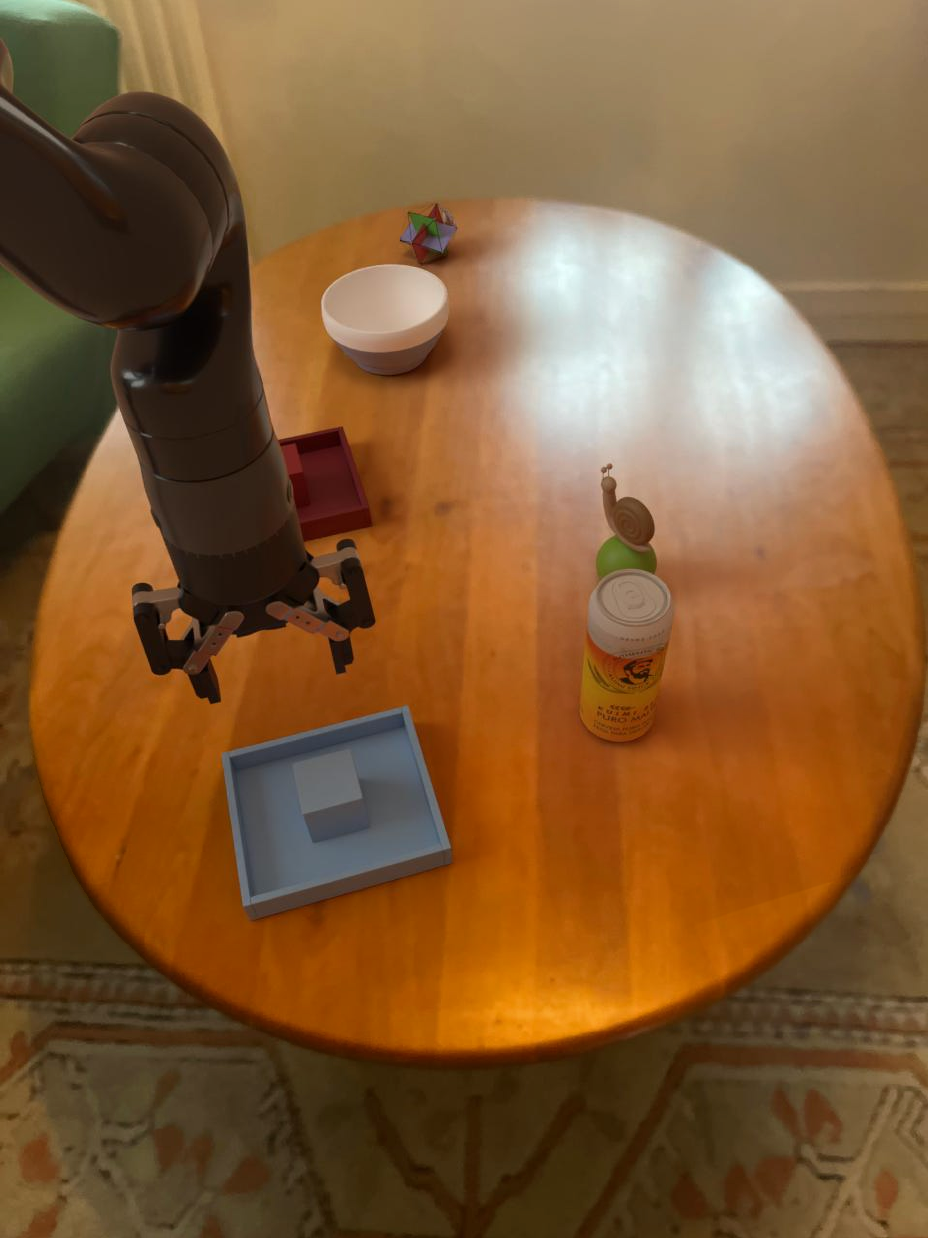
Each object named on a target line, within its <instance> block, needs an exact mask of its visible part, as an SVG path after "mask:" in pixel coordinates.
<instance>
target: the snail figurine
mask: <svg viewBox="0 0 928 1238" xmlns="http://www.w3.org/2000/svg"><path fill="white" fill-rule="evenodd" d="M613 467H614V466H613V464H612V463H609V462H608V463H607V464H606V466H602V467H601V468H600V472H601V473H602V475H605V473H607V476H602V479H601V482H600V487H601V490H602V505H603V512H604V516H605V518H606V522H607V525H608V527H609V529H610V530H611V531H612V532H613V533H614V534H615V535H612V536H611V537H609V538H608V539H606V540H605V541H604V542H603V543H602V545H601V546H600V548H599V549H598V551H597V554H596V557H595V568H596V569H595V570H596V572H597V575H598V577H599V579H600V581H601V580H602V579H603V578H604V577H605V576H607V575H608V574H610V573H612V572H615V571H618V570H622V569H638V570H643V571H646V572H649V573H651V574H653V575H655V574H656V571H657V566H658V560H657V559H658V558H657V554H656V552H655V549H654V547H653V546H652V544H651V543H650V542H651V541H652V540H653V538H654V536H655V531H656V526H655V520H654V517H653V515H652V513H651V511H650V510H649V509H648V507H647V506H646V505H645V504H644V503H643V502H642V501H641V500H639V499H637V498H636V497H632V496H624V497H621V498H619V499H618V500H617V494H616V490H617V487H618V486H617V485H618V483H617V480H616V479H615V478H614V477H612V476H610V470H612V469H613Z"/></svg>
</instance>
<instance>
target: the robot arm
mask: <svg viewBox="0 0 928 1238" xmlns="http://www.w3.org/2000/svg"><path fill="white" fill-rule="evenodd" d="M14 81H15V74H14V66H13V60H12V57H11V53H10V50H9V48H8V46H7V44H6V43H5V42H4V40H3V39H2V37H0V265H1V266H2V267H3V268H4V269H6V271H8V272H9V273H10V274H11V275H13V276H14V277H15V278H16V279H17V280H19V281H20V282H21V283H22V284H23V285H25V286H26V287H28V289H30V290H32V291H33V292H34V293H35V294H37V295H38V296H39V297H41V298H42V299H44V300H45V301H47V302H49V303H50V304H52V305H53V306H55V307H56V308H58V309H59V310H62V311H64V312H65V313H68V314H70V315H72V316H74V317H75V318H78V319H81V320H83V321H86V322H89V323H91V324H94V325H97V326H101V327H104V328H105V327H106V328H109V329H114V330H117V334H116V339H115V343H114V347H113V351H112V355H111V361H110V378H111V385H112V389H113V393H114V396H115V399H116V403H117V406H118V410H119V412H120V415H121V417H122V420H123V423H124V425H125V427H126V428H125V429H126V431H127V433H128V435H129V438H130V442H131V444H132V446H133V450H134V452H135V454H136V457H137V461H138V464H139V467H140V474H141V478H142V483H143V488H144V492H145V494H146V495H145V496H146V498H147V500H148V504H149V506H150V510H149V512H150V514H151V517H152V519H153V522H154V524H155V526H156V527H157V529H159V532H160V535H161V538H162V541H163V542H164V545H165V548H166V550H167V554H168V555H169V559H170V560H171V563H172V566H173V569H174V572H175V575H176V576H177V579H178V582H177V585H176V586H174V587H169V588H168V587H167V588H163V589H157V590H154V589H153V586H152V585H151V584H149V583H147V582H138V583H135V584H134V585H133V586H132V587H131V601H132V604H131V605H132V616H133V622H134V626H135V628H136V631H137V634H138V636H139V640H140V642H141V645H142V648H143V650H144V654H145V657H146V659H147V663H148V665H149V668H150V671H151V672H152V674H154V675H155V676H165V675H168V674H169V673H171V671H172V670H181V671H183V673H185V674H187V676H188V680H189V681H190V684H191V686H192V688H193V691H194V693H195V696H196V697H197V698H199V699H200V700H203V699H207V700H208V702H209V704H210V705H214V704H218V703H221V702H222V697H221V690H220V689H221V688H220V682H219V678H218V675H217V672H216V669H215V667H214V665H213V662H212V659H211V658H212V656H213V657H217V656H218V655H219V653H220V652H221V650H222V649H223V647H224V646H225V644H226V643H227V642H228V640H229V638H230V637H231V635H233V636H236V638H237V639H240V638H245V637H248V636H251V635H253V634H256V633H259V632H261V631H274V630H280V629H283V628H287V624H288V623H290V624H291V625H293V626H295V627H298V628H299V629H301V630H302V631H303V630H304V632H307V633H309V634H311V635H314V634H315V633H318V634H321V635H323V636H324V637H326V638H327V639H328V643H329V648H330V654H331V658H332V661H333V662H332V663H333V666H334V670H335V675H341V674H347V668H346V666H348V665H352V664H353V662H354V661H355V656H354V651H353V646H352V641H351V640H352V639H351V633H352V632H353V631H354V630H355V629H357V628H360V629H363V630H366V629H370V628H372V627H374V625H376V616H375V612H374V609H373V605H372V601H371V597H370V594H369V589H368V585H367V581H366V577H365V572H364V569H363V565H362V562H361V559H360V555H359V551H358V548H357V544H356V542H355V540H353V539H352V538H343V539H341V540H339V541H338V542H337V543H336V546H335V548H336V551H334V552H330V553H327V554H323V555H319V556H316V557H314V555H313V554H311V553H310V552H309V551H308V550H307V549H306V545H305V541H303V537H302V532H301V528H300V523H299V519H298V514H297V510H296V505H295V501H294V496H293V485H292V483H291V480H290V478H289V474H288V469H287V465H286V461H285V458H284V454H283V451H282V449H281V446H280V443H279V441H278V440H279V438H278V437H277V434H276V431H275V429H274V426H273V425H274V424H273V422H272V418H271V414H270V409H269V404H268V401H267V396H266V392H265V387H264V383H263V378H262V374H261V371H260V367H259V364H258V361H257V357H256V353H255V349H254V338H253V306H252V304H253V303H252V284H251V270H250V269H251V268H250V255H249V254H250V253H249V242H248V232H247V223H246V215H245V209H244V204H243V203H244V202H243V198H242V193H241V189H240V186H239V182H238V179H237V175H236V173H235V170H234V167H233V165H232V163H231V160H230V157H229V156H228V154H227V152H226V150H225V148H224V147H223V145H222V143H221V142H220V140H219V138H218V137H217V136H216V134H215V133H214V132H213V130H212V129H211V128H210V127H209V125H208V124H207V123H206V122H205V121H204V120H203V119H202V118H201V117H200V116H199V115H198V114H197V113H196V112H195V111H193V110H192V109H191V108H190V107H188V106H187V105H185V104H183V102H180V101H178V100H177V99H174V98H172V97H170V96H167V95H164V94H161V93H158V92H152V91H143V90H141V91H140V90H139V91H130V92H124V93H120V94H118V95H115V96H113V97H112V98H110V99H108V100H106V101H104V102H103V103H101V104H100V105H99V106H97V107H96V108H94V109H93V110H92V111H91V113H90V114H89V115H88V116H87V117H86V118H85V119H84V120H83V121H82V122H81V124H80V125H79V127H77V129H76V130H75V132H73V134H72V136H71V137H68V136H67V135H65V134H64V133H62V132H61V131H59V130H58V129H56V128H55V127H54V126H53V125H51V124H50V123H49V122H47V121H46V120H45V119H44V118H42V117H41V116H40V115H39V114H37V113H36V112H35V111H34V110H33V109H31V108H30V107H29V106H28V105H27V104H25V103H24V102H23V101H22V100H20V99H19V97H17V96H16V95H15V94H13V93H14V85H15V84H14V83H15V82H14ZM321 578H326V579H329V580H330V581H331V583H332V584H333V585H335V586H338V588H339V590H341V591H342V590H343V591H344V590H346V589H347V593H348V597H349V599H348V600H345V601H343V602H339V601H337V600H335V599H334V598H332V597H331V596H328V595H327V594H325V593H323V591H322V590H321V588H320V587H319V586H318V585H319V583H320V579H321ZM178 609H180V610H181V612H182V613H183V614H185V615H187V616H189V617H191V621H190V623H189V625H188V626H187V628H186V630H185V631H184V632H183V634H182V635H181V637H180V639H170V638H169V635H168V632H167V629H166V628H167V624H169V622H171V621H172V619H173V618H172V617H173V616H172V614H173V613H174V611H176V610H178Z"/></svg>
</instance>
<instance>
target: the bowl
mask: <svg viewBox="0 0 928 1238" xmlns="http://www.w3.org/2000/svg"><path fill="white" fill-rule="evenodd" d="M449 298H450V297H449V294H448V289H447V286H446V285H445V284H444V282H443V280H442V279H440V278H439V277H438V276H437V275H435V274H434V273H432V272H430V271H429V270H426V269H423V268H420V267H417V266H412V265H406V264H397V263H395V264H394V263H393V264H388V263H386V264H385V263H384V264H378V265H370V266H366V267H361V268H358V269H356V270H353V271H350V272H349V273H348V272H347V273H346V274H344V275H342V276H341V277H339V278H337V279H336V280H334V281H333V282H332V283H331V284H330V285H329V286H328V287H327V288H326V290H325V292H324V293H323V294H322V298H321V300H320V302H321V303H320V304H321V305H320V306H321V318H322V321H323V325H324V328H325V331H326V332H327V334H328V335H329V336H330V337H331V339H332V341H333V342H334V343H335V345H337V346H338V347H339V349H341V351H342V352H343V353H344V354H345V356H347V357H348V358H349V359H351V360H352V361H354V363H355V364H356V365H357V366H358V367H359V368H361V370H363V371H365V372H367V373H370V374H374V375H381V376H393V375H394V376H395V375H401V374H405V373H408V372H410V371H412V370H415V369H417V368H418V367H419V366H420V365H422V364H423V363H424V362H425V360H426V358H427V356H428V355H429V354H430V352H431V351H432V350H433V349H434V347H435V346H436V345H437V344H438V341H439V338H440V337H441V336H442V333H443V331H444V330H445V327H446V325H447V322H448V320H449V315H450V299H449Z"/></svg>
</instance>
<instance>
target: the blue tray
mask: <svg viewBox="0 0 928 1238" xmlns="http://www.w3.org/2000/svg"><path fill="white" fill-rule="evenodd" d="M349 748H350V749H351V751H352V755H353V759H354V763H355V767H356V771H357V775H358V779H359V783H360V787H361V791H362V795H363V799H364V803H365V807H366V811H367V815H368V819H369V823H370V827H368V828H365V829H361V830H358V831H354V832H350V833H347V834H343V835H340V836H336V837H332V838H329V839H325V840H322V841H318V842H314V843H312V840H311V838H310V835H309V832H308V829H307V826H306V824H305V821H304V818H303V815H302V811H301V806H300V801H299V796H298V791H297V786H296V781H295V776H294V771H293V766H292V764H293V763H296V762H300V761H304V760H308V759H311V758H315V757H319V756H323V755H327V754H330V753H334V752H338V751H342V750H345V749H349ZM221 762H222V767H223V768H222V769H223V775H224V783H225V790H226V798H227V803H228V804H227V805H228V811H229V819H230V825H231V831H232V832H231V833H232V839H233V846H234V847H233V848H234V854H235V861H236V868H237V874H238V875H237V876H238V881H239V888H240V889H239V890H240V895H241V903H242V907H243V909H244V911H245V913H246V916H247V917H248V919H249V920H250V921H255V920H258V919H261V918H265V917H268V916H272V915H276V914H279V913H282V912H286V911H290V910H293V909H297V908H300V907H303V906H307V905H310V904H314V903H317V902H321V901H324V900H328V899H331V898H335V897H338V896H342V895H346V894H349V893H352V892H357V891H359V890H363V889H366V888H370V887H374V886H377V885H381V884H384V883H388V882H391V881H395V880H398V879H402V878H405V877H409V876H412V875H416V874H419V873H422V872H427V871H430V870H433V869H437V868H440V867H443V866H447V865H450V864H453V863H454V861H453V852H452V845H451V842H450V839H449V835H448V831H447V830H446V829H447V828H446V826H445V823H444V819H443V816H442V813H441V809H440V806H439V802H438V799H437V797H436V796H437V795H436V793H435V790H434V786H433V783H432V780H431V775H430V773H429V770H428V767H427V763H426V760H425V757H424V753H423V750H422V747H421V744H420V740H419V737H418V733H417V730H416V727H415V724H414V721H413V718H412V714H411V711H410V707H409V705H408V704H407V705H403V706H401V707H395V708H392V709H387V710H384V711H381V712H376V713H373V714H369V715H368V714H367V715H365V716H361V717H357V718H353V719H349V720H345V721H341V722H338V723H334V724H329V725H327V726H322V727H318V728H314V729H310V730H307V731H303V732H298V733H296V734H291V735H288V736H283V737H280V738H275V739H272V740H268V741H264V742H261V743H257V744H253V745H249V746H245V747H241V748H237V749H233V750H229V751H225V752H222V753H221Z"/></svg>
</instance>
